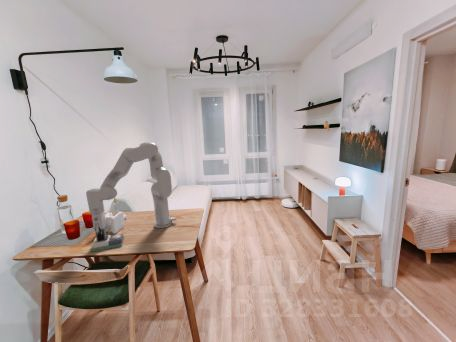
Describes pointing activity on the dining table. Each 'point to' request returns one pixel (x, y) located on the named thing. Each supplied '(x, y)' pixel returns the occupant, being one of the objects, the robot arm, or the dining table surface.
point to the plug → (104, 235)
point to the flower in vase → (117, 207)
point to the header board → (108, 243)
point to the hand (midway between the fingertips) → (102, 237)
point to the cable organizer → (114, 222)
